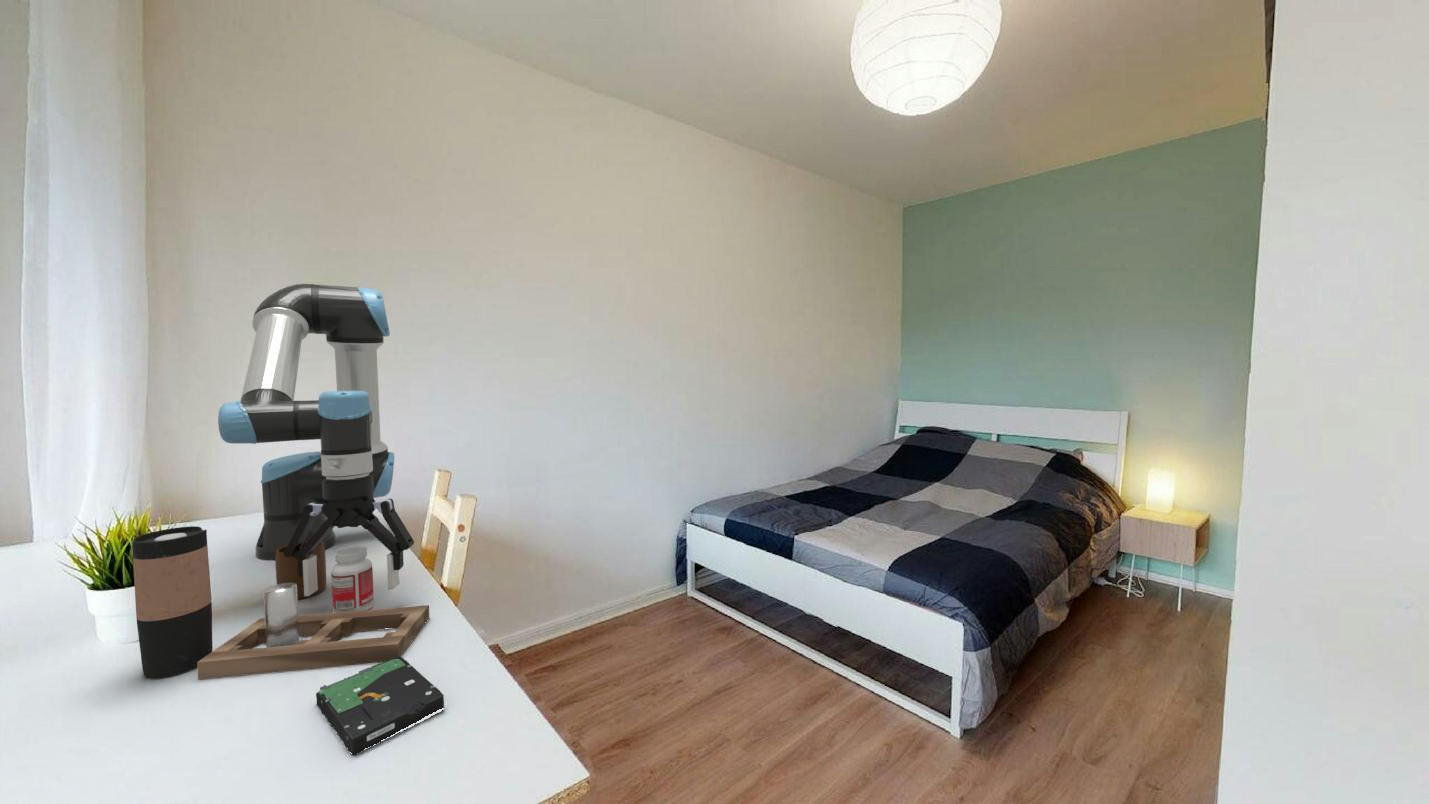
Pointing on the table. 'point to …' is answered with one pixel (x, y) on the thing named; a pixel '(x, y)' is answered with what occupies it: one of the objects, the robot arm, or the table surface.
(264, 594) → the steel peg
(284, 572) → the mug
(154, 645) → the travel mug
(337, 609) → the pill bottle
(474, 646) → the table surface
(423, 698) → the disk drive
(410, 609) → the socket board
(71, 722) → the table surface
